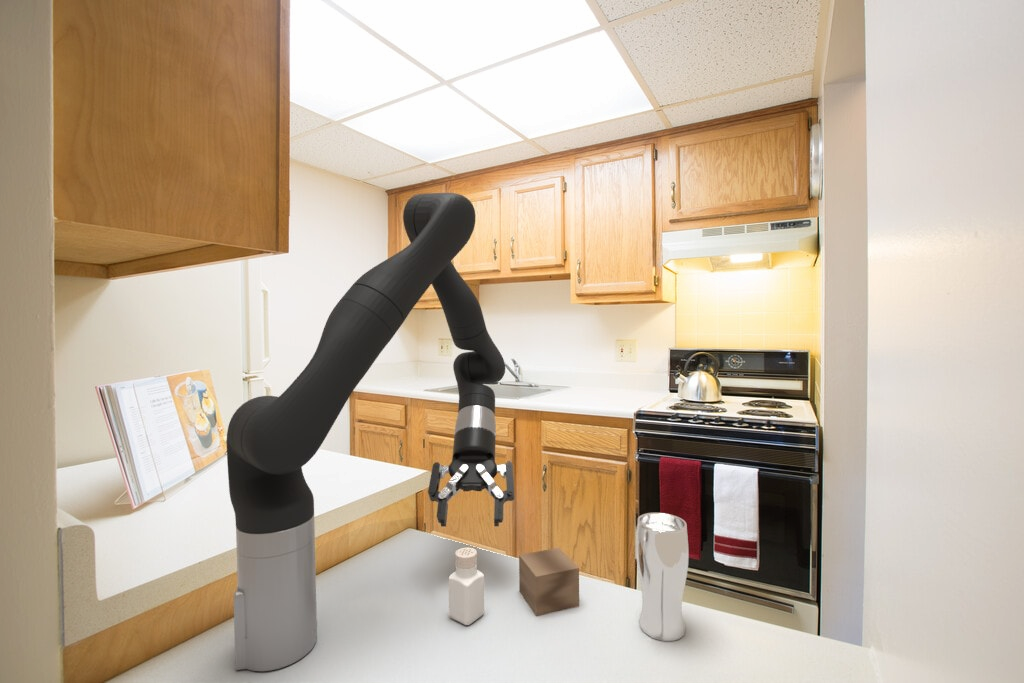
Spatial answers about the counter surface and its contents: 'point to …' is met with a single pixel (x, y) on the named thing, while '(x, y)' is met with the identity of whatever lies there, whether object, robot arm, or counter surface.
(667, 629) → the beer glass
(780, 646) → the counter surface
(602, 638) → the counter surface
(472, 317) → the robot arm
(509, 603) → the counter surface
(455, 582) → the pepper shaker
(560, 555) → the walnut block
